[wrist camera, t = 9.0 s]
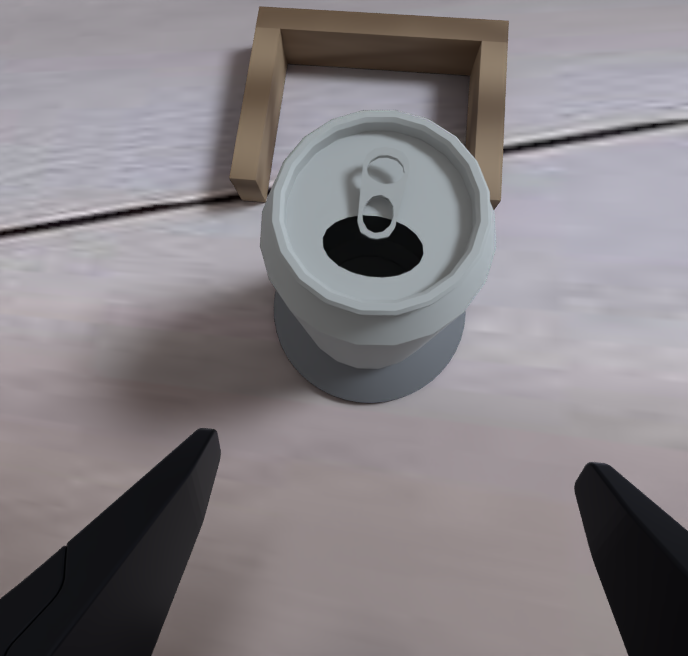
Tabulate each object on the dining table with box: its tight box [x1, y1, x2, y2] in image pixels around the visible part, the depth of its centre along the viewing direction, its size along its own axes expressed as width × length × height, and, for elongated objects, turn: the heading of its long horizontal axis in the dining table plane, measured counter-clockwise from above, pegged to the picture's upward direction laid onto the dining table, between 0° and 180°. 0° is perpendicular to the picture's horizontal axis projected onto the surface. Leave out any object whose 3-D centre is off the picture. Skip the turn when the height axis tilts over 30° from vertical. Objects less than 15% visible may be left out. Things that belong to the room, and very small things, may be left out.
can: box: [260, 110, 496, 369], centre depth 17 cm, size 8×8×12 cm
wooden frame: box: [229, 6, 509, 210], centre depth 24 cm, size 12×15×2 cm
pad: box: [274, 290, 465, 403], centre depth 23 cm, size 11×11×1 cm
